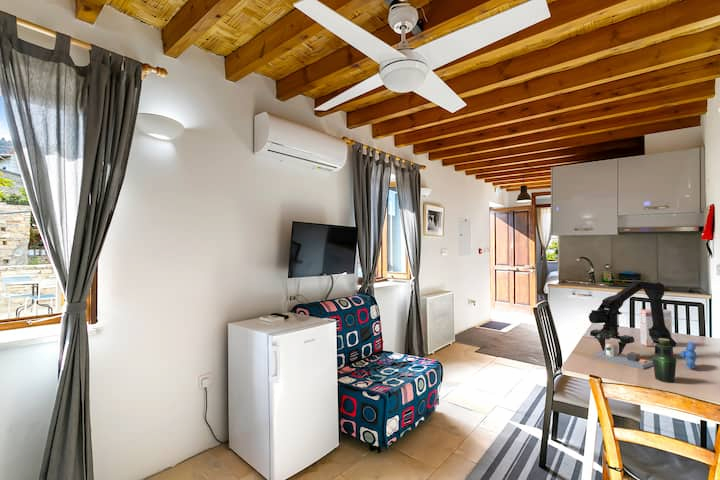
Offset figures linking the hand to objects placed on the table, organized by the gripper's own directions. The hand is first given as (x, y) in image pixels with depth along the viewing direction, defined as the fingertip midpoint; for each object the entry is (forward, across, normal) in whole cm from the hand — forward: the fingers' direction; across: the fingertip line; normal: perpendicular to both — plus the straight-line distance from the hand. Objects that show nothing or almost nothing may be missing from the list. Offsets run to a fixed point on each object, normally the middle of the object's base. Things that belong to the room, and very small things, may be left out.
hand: (611, 352), depth 188 cm
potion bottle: (+3, +27, -12) cm, 30 cm away
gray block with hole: (+3, +5, 0) cm, 6 cm away
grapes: (+3, +26, +16) cm, 31 cm away
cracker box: (+3, +2, +45) cm, 45 cm away
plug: (+3, 0, 0) cm, 3 cm away
